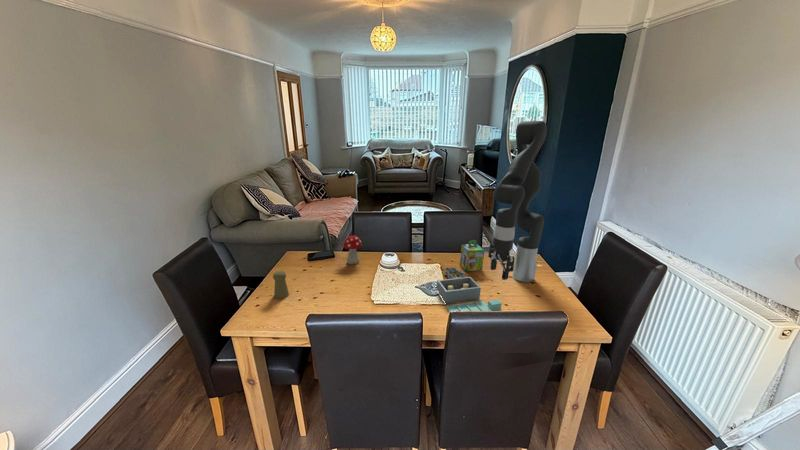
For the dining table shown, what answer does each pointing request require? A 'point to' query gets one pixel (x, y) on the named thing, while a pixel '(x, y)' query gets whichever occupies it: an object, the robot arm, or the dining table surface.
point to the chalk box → (471, 256)
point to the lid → (476, 306)
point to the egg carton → (453, 272)
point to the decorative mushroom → (352, 249)
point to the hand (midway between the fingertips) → (498, 274)
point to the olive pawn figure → (280, 285)
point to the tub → (458, 290)
